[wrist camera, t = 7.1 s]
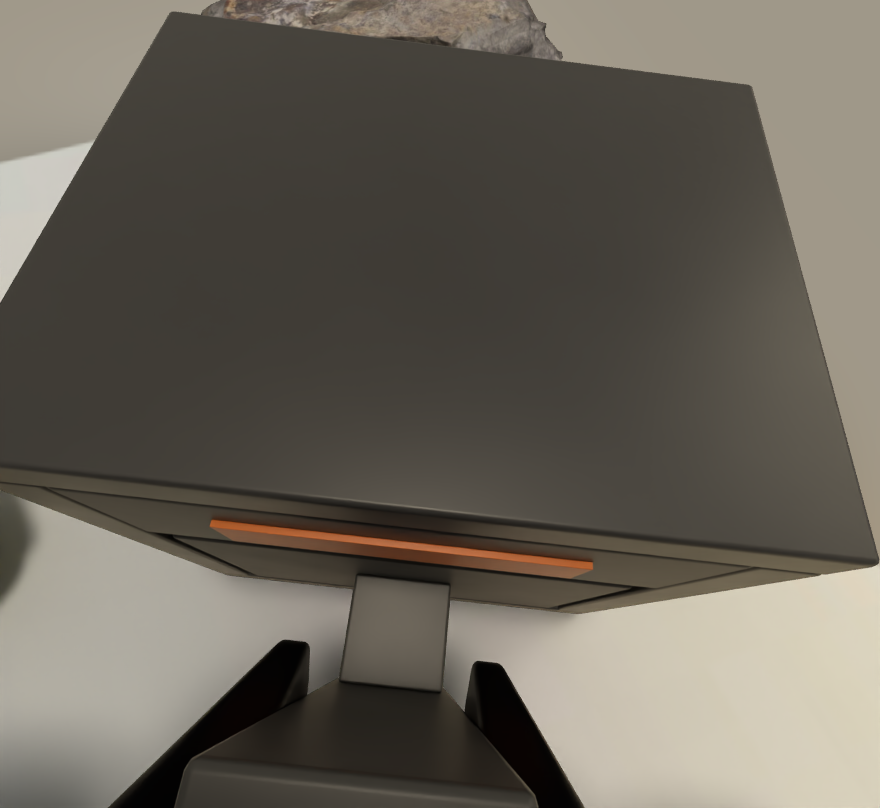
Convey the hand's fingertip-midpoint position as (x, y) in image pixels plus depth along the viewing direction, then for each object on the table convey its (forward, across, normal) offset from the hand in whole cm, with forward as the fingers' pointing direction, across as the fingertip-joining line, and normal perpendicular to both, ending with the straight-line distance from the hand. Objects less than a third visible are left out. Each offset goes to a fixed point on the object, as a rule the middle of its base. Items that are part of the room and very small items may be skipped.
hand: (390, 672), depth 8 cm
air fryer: (+9, 0, +1) cm, 9 cm away
